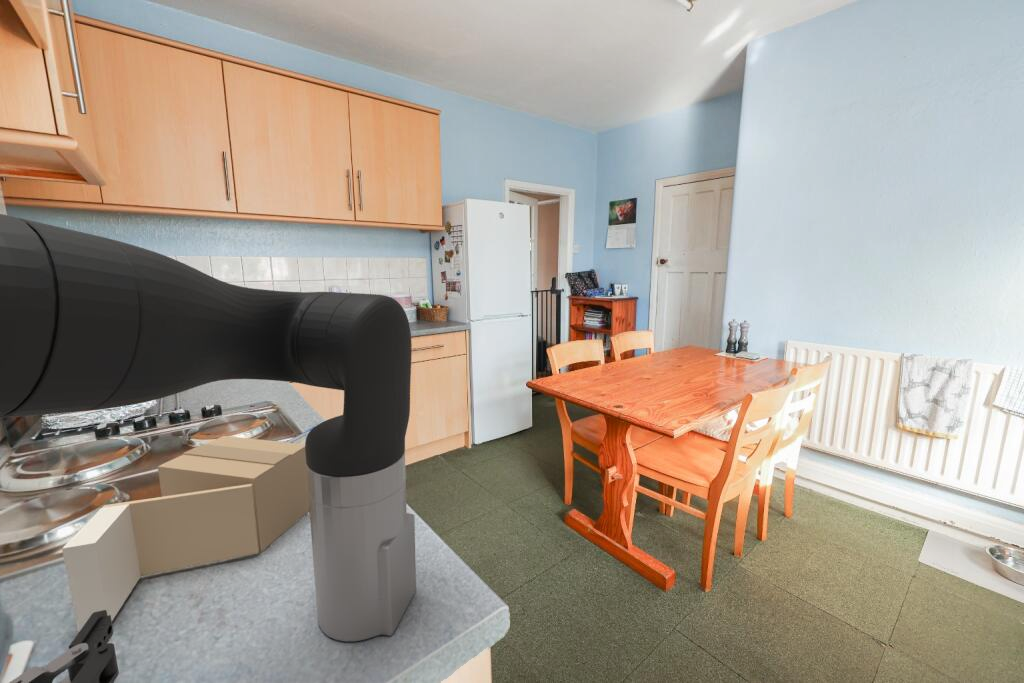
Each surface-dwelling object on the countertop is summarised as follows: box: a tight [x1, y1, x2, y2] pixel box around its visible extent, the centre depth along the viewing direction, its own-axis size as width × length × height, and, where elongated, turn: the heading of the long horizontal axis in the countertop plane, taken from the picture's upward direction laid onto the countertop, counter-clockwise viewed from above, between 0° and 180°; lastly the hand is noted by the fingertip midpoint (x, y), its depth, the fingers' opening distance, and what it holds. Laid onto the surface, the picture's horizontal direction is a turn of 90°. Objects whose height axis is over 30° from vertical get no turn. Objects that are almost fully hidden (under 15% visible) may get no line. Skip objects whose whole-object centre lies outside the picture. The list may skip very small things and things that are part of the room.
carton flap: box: [61, 484, 259, 633], centre depth 46 cm, size 14×8×9 cm, turn 111°
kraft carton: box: [157, 435, 310, 553], centre depth 59 cm, size 14×10×10 cm
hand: (34, 634), depth 34 cm, fingers open, 8 cm apart
